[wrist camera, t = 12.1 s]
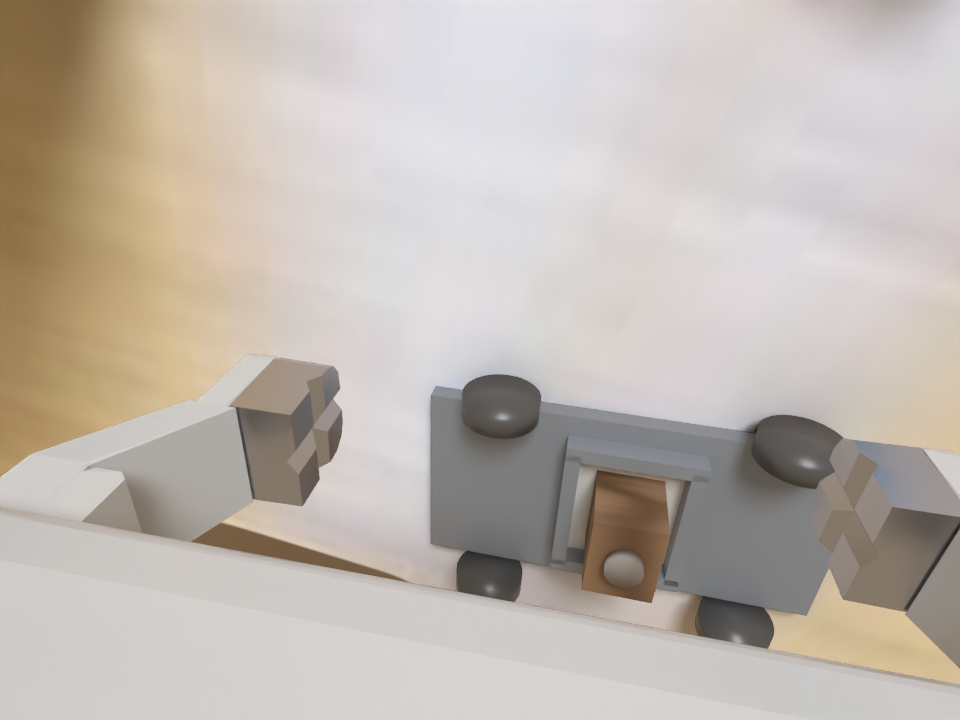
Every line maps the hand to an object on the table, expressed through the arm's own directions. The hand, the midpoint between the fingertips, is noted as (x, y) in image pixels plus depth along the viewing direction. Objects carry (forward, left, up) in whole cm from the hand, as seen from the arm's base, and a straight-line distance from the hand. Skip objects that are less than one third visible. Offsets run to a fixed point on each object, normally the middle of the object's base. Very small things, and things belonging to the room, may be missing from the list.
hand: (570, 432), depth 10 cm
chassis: (+5, -23, -26) cm, 35 cm away
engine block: (+5, -23, -25) cm, 34 cm away
